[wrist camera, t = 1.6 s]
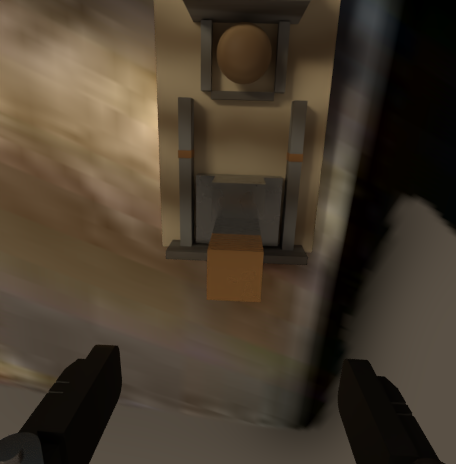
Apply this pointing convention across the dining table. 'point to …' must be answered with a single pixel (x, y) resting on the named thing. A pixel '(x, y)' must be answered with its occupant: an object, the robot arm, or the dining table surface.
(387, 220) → the dining table surface
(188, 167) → the base
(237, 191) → the lever
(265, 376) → the dining table surface
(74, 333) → the dining table surface
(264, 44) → the walnut
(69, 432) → the robot arm
